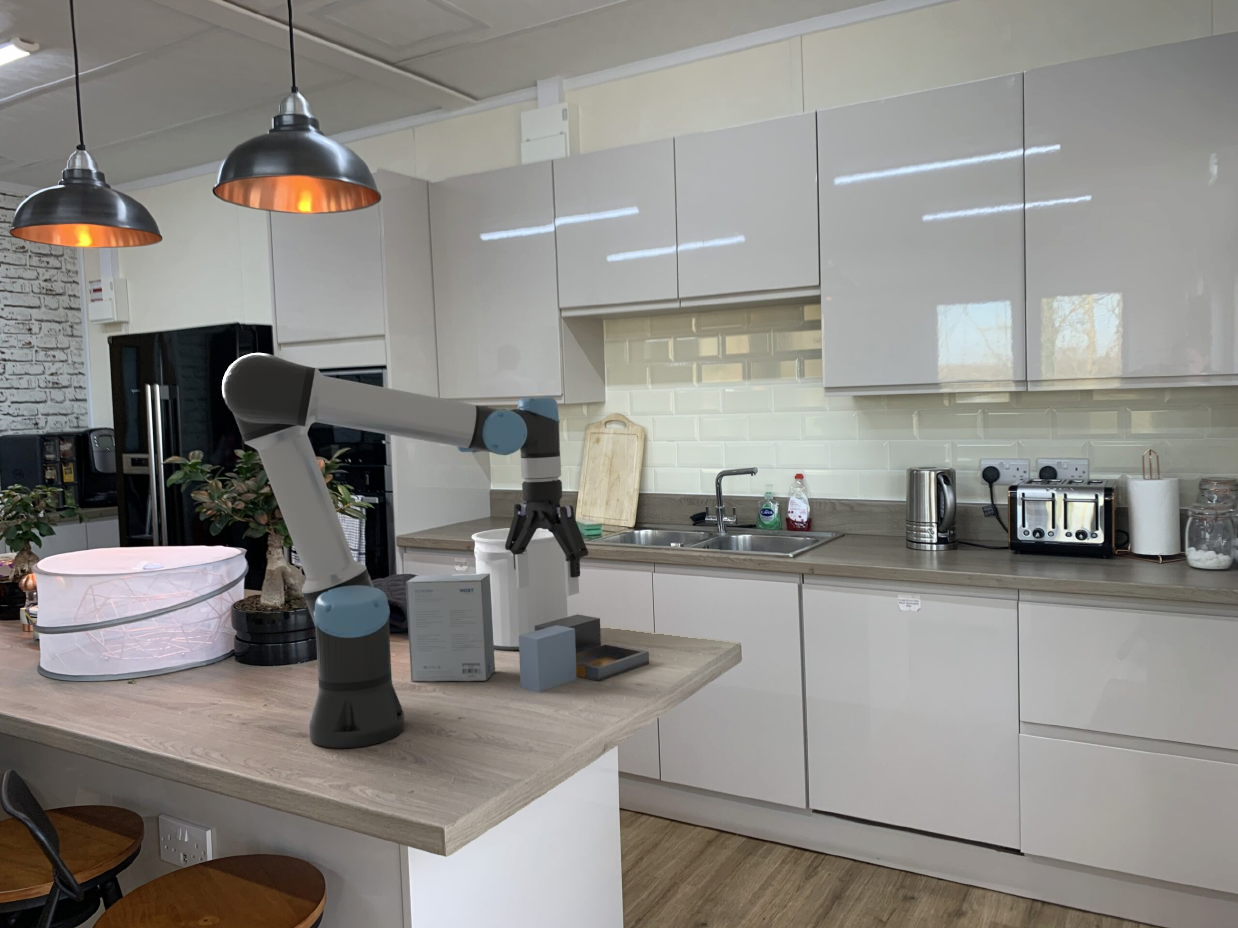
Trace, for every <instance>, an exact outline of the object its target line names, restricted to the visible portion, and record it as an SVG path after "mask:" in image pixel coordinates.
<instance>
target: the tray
mask: <svg viewBox="0 0 1238 928" xmlns="http://www.w3.org/2000/svg"><path fill="white" fill-rule="evenodd" d="M556 625H558V626H563V627H568V628H574V629H575V647H576V677H579V678H584V679H588V680H591V681H597V682H601V681H605V680H606V679H607V680H608V679H609V678H613V677H615V676H619V675H620V674H624V673H627V672H629V671H632V670H635V669H638V668H640V667H643V666H647V665H649V664H650V653H649V651H648V650H643V649H638V648H633V647H627V646H623V645H617V644H612V643H608V642H602V641H601V639H602V637H601V617H595V616H590V615H583V614H578V613H577V614H573V615H570V616H568V617H566V618H562V619H558V620H555V621H551V622H547V623H543V624H540V625H536V626H535V631H538V630H541V629H545V628H548V627H552V626H556Z"/></svg>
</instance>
